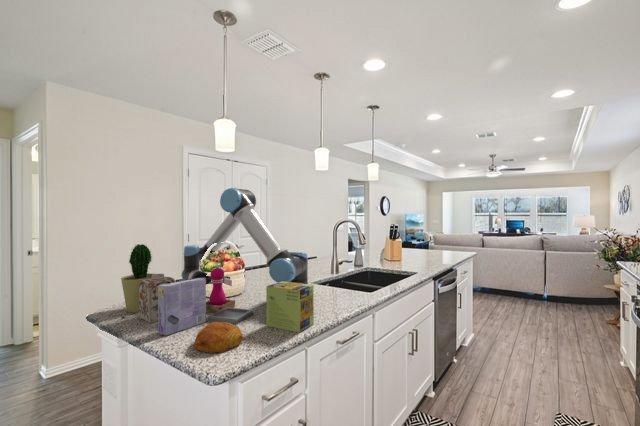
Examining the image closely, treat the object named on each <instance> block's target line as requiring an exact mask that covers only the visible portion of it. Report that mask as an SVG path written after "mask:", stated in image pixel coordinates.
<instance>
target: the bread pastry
mask: <svg viewBox="0 0 640 426" xmlns="http://www.w3.org/2000/svg"><path fill="white" fill-rule="evenodd" d="M243 337H244V336H243V332H242V331H241V329H240V327H239V326H238V325H237V324H231V323H228V322H208V324H206V325H205V326H204V327H202V328H201V329H199V331H198V332H197V334H196V336H195V340H194V341H193V342H194V343H193V345H194V349H195V350H198V351H200V352H205V353H218V352H219V353H224V352H225V351H226V352H228V350H229V349H233V348H234V347H237V346H238V345H240V344H241V343H242V341H243V339H244V338H243Z"/></svg>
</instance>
